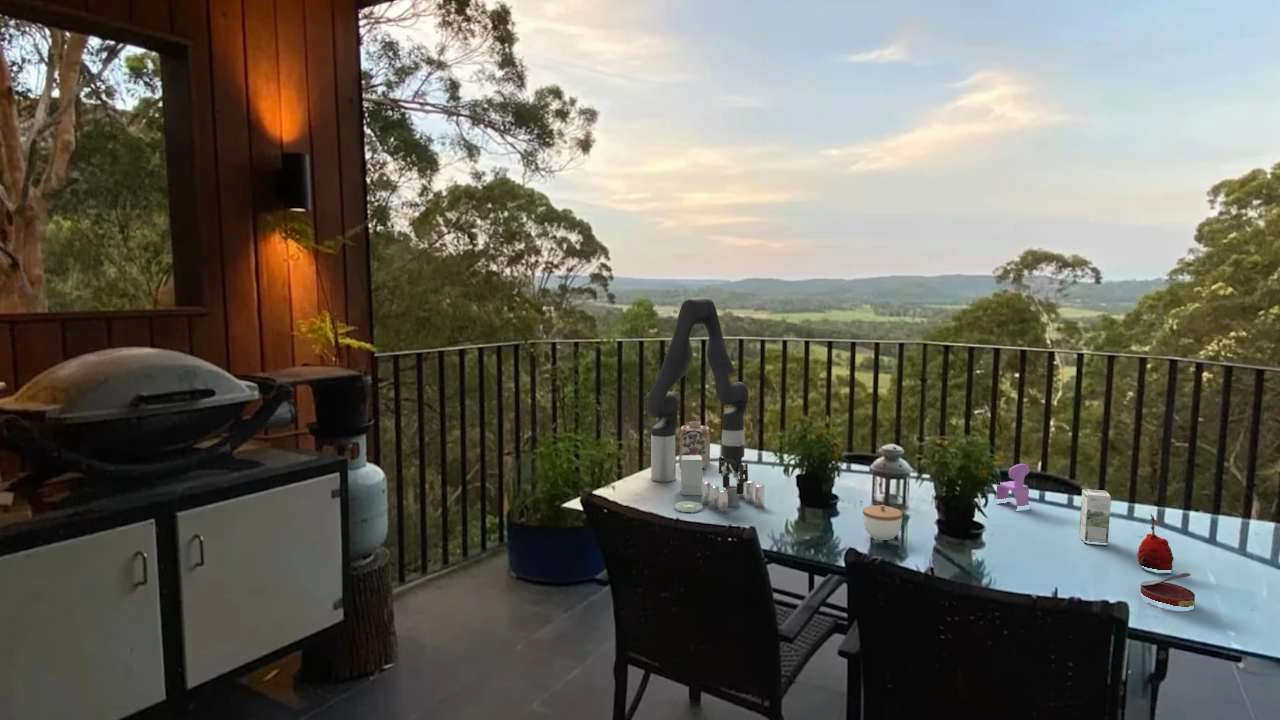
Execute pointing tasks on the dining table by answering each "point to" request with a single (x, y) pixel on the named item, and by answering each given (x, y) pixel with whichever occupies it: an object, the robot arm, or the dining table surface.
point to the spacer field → (721, 496)
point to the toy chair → (1015, 485)
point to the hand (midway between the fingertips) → (733, 490)
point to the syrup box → (1095, 515)
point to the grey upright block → (732, 496)
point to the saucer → (688, 506)
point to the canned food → (1168, 592)
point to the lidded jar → (882, 521)
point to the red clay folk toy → (1155, 551)
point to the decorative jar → (695, 442)
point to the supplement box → (691, 474)
